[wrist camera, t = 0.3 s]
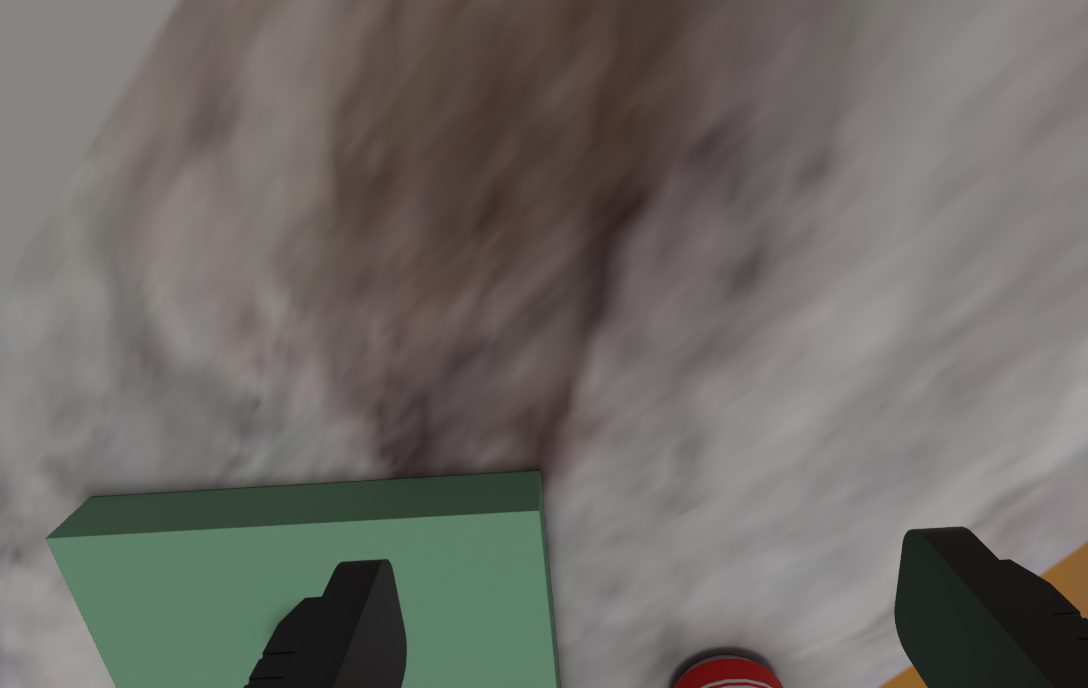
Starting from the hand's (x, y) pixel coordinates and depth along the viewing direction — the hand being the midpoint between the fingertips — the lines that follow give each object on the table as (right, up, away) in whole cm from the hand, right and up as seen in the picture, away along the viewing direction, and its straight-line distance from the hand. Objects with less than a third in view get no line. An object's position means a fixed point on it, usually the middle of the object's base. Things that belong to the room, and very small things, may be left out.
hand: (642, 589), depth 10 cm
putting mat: (-12, -12, +25) cm, 30 cm away
